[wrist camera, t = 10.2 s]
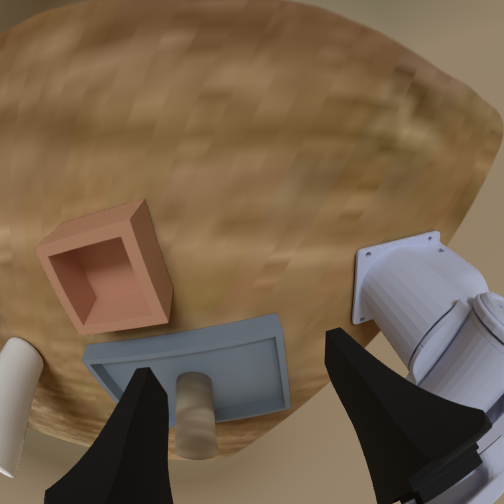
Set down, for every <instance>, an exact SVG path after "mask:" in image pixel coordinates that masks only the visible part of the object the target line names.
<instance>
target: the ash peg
mask: <svg viewBox="0 0 504 504" xmlns="http://www.w3.org/2000/svg"><path fill="white" fill-rule="evenodd" d="M175 453H176V454H177V455H178V456H180V457H182V458H186V459H192V460H204V459H210V458H213V457H215V456H217V455H218V448H217V438H216V428H215V417H214V406H213V393H212V381H211V379H210V377H209V376H207V375H206V374H204V373H201V372H194V371H192V372H185V373H182V374H180V375H179V376H178V377H177V380H176V408H175Z"/></svg>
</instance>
